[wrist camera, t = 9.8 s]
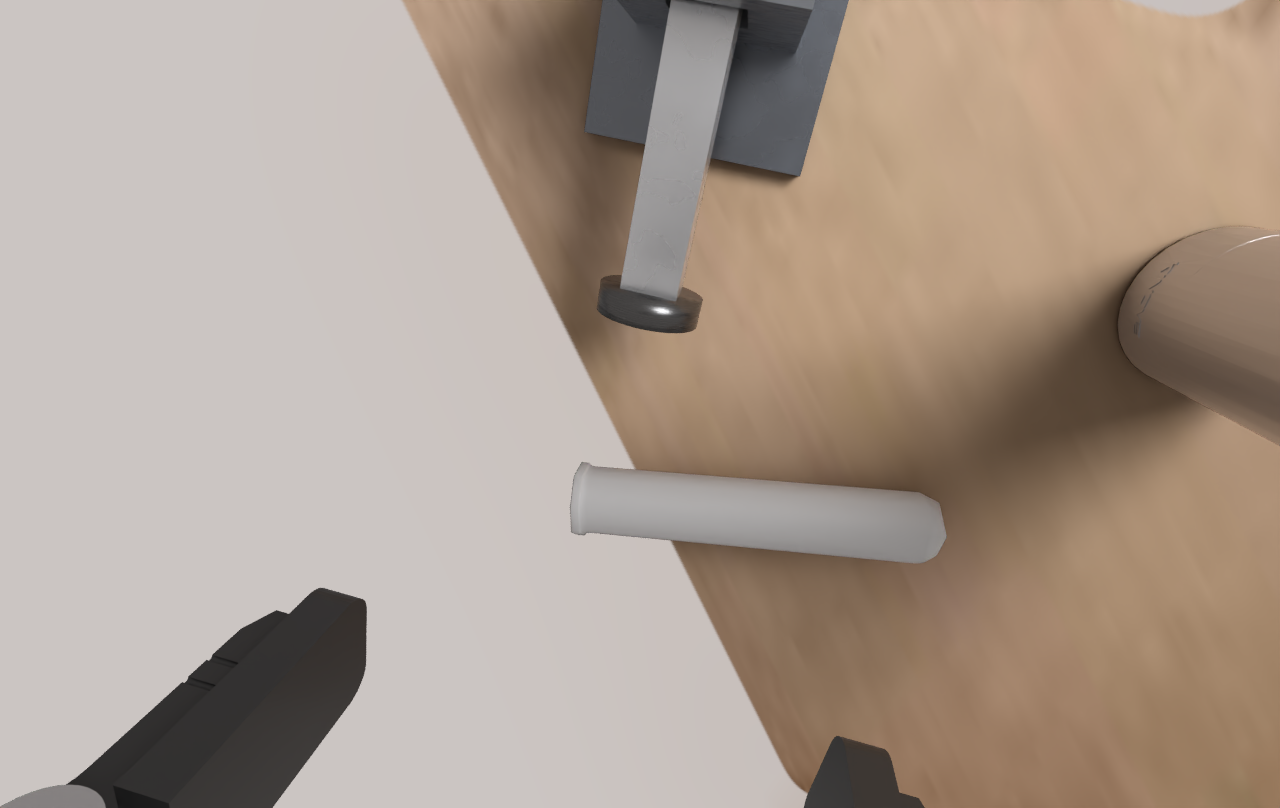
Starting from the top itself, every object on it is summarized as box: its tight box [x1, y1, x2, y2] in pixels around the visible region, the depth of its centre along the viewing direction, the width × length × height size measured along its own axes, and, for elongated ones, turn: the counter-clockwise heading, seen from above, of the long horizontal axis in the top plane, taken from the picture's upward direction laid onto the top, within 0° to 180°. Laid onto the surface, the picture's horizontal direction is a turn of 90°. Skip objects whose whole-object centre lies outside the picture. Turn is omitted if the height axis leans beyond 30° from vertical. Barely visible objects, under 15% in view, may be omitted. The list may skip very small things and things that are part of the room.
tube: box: [570, 462, 947, 563], centre depth 42 cm, size 5×5×25 cm
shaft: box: [597, 0, 743, 333], centre depth 30 cm, size 6×18×6 cm, turn 169°
